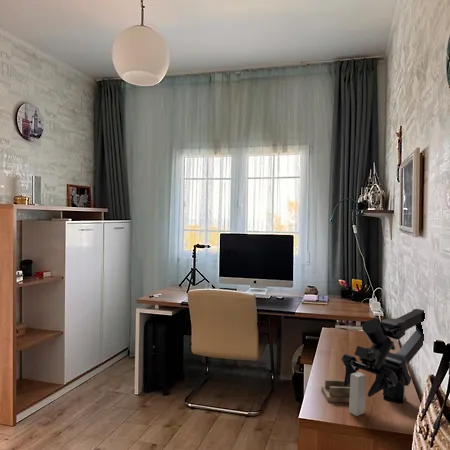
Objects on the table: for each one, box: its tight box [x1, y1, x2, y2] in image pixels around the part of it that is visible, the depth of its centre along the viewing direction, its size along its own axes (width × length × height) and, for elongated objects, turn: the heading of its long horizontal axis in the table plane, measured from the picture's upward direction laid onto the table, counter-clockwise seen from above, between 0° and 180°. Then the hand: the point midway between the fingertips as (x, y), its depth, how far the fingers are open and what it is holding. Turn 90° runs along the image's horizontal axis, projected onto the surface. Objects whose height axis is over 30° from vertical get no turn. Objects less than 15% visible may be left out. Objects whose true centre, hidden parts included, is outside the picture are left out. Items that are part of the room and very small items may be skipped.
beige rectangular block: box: [348, 371, 367, 417], centre depth 139 cm, size 4×3×12 cm
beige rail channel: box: [320, 378, 350, 403], centre depth 151 cm, size 11×9×4 cm
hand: (356, 390), depth 138 cm, fingers open, 9 cm apart
